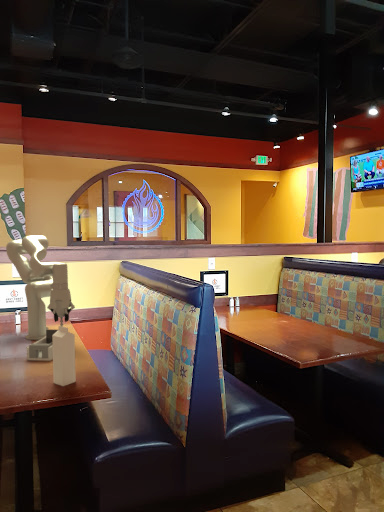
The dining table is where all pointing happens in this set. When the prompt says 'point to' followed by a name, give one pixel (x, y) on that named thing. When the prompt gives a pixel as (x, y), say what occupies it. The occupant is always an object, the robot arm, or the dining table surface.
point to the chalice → (60, 311)
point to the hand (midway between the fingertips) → (61, 320)
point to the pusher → (49, 336)
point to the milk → (63, 357)
